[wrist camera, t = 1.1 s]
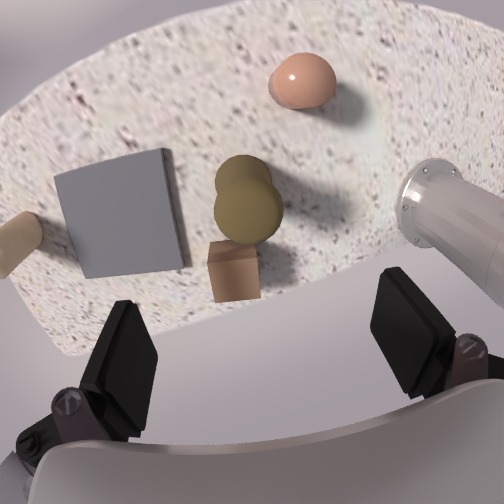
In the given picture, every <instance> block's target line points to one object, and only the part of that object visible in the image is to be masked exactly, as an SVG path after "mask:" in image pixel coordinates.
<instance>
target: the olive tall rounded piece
mask: <svg viewBox="0 0 504 504" xmlns="http://www.w3.org/2000/svg"><path fill="white" fill-rule="evenodd" d="M215 187H216V191H217V194H218V195H217V197H216V201H215V205H214V217H215V221H216V223H217V225H218V227H219V229H220V230H221V232H222V233H223V234H224V235H225V236H226V237H227V238H229V239H231V240H232V241H234V242H236V243H241V244H245V245H248V244H257V243H260V242H263V241H265V240H267V239H268V238H270V237H271V236H272V235H274V233H275V232H276V231H277V229H278V228H279V227H280V224H281V221H282V218H283V202H282V199H281V196H280V194H279V192H278V191H277V190H276V189H275V187H274V186H273V185H272V179H271V174H270V172H269V169H268V168H267V166H266V165H265V164H264V163H263V162H262V161H261V160H259V159H258V158H256V157H253V156H250V155H237V156H234V157H232V158H229V159H228V160H227V161H225V162H224V163H223V164H222V165H221V166H220V168H219V170H218V171H217V174H216V178H215Z"/></svg>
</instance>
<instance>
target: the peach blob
mask: <svg viewBox="0 0 504 504" xmlns="http://www.w3.org/2000/svg"><path fill="white" fill-rule="evenodd" d="M335 89H336V76H335V73H334V71H333V69H332V67H331V66H330V65H329V63H328V62H327V61H325V60H324V59H323V58H321V57H319V56H317V55H315V54H311V53H297V54H294V55H292V56H290V57H288V58H287V59H286V60H285V61H284V62H283V63H282V64H281V65H280V66H279V67H278V68H277V69H276V70H275V71H274V72H273V73H272V75H271V77H270V79H269V92H270V94H271V96H272V98H273V99H274V100H275V101H276V102H277V103H278V104H279V105H281V106H282V107H285V108H288V109H301V108H311V107H318V106H321V105H323V104H325V103H326V102H328V101H329V100H330V99H331V97H332V96H333V94H334V92H335Z"/></svg>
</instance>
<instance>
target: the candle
mask: <svg viewBox="0 0 504 504" xmlns="http://www.w3.org/2000/svg"><path fill="white" fill-rule="evenodd" d="M42 238H43V231H42V227H41V224H40V222H39V220H38V219H37V218H36V216H35V215H33V214H32V213H30V212H22V213H20V214H19V215H17V216H15V217H14V218H12V219H11V220H10V221H8V222H7V223H5V224H4V225H2V226H1V227H0V279H4V278H6V277H7V276H8V275H9V274H10V273H11V272H12V271H13V270H14V269H15V268H16V267H17V266H18V265H19V264H20V263H21V262H22V261H23V260H24V259H25V258H26V257H27V256H29V255H30V254H31V253H32V252H33V251H34V250H35V249H36V248H37V247H38V246H39V245H40V244H41V242H42Z"/></svg>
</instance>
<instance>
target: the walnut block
mask: <svg viewBox="0 0 504 504" xmlns="http://www.w3.org/2000/svg"><path fill="white" fill-rule="evenodd" d="M207 265H208V270H209V276H210V281H211V286H212V291H213V295H214V300H215V303H221V302H231V301H240V300H250V299H258V298H261V293H260V282H259V271H258V260H257V253H256V248H255V244H248V245H245V244H241V243H236V242H234V241H232V240H225V241H217V242H210V247H209V254H208V261H207Z"/></svg>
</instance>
